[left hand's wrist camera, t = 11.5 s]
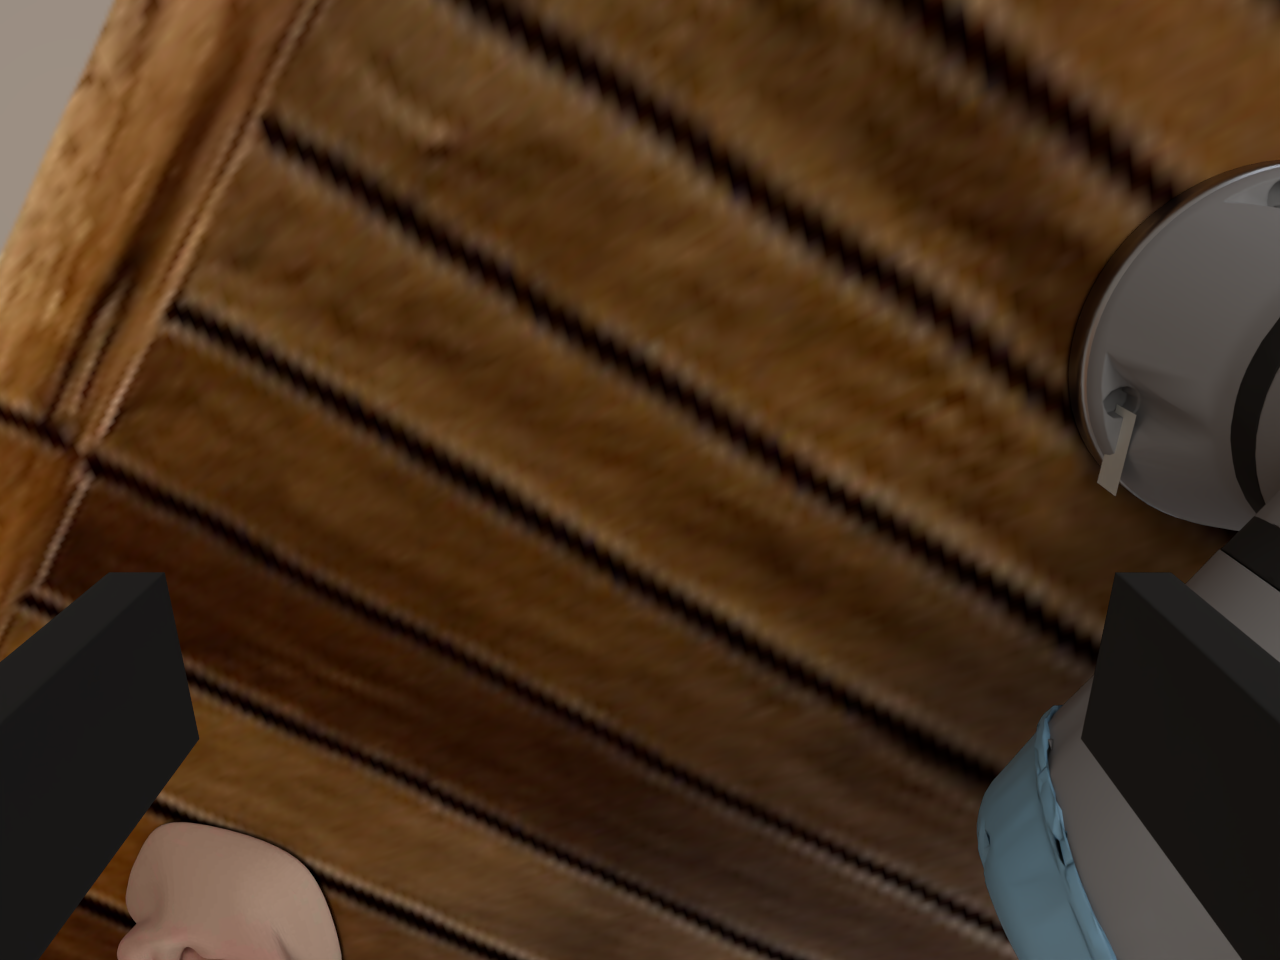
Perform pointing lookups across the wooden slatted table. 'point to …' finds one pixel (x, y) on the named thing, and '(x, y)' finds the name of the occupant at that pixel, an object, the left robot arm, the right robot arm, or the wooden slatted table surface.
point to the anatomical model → (223, 900)
